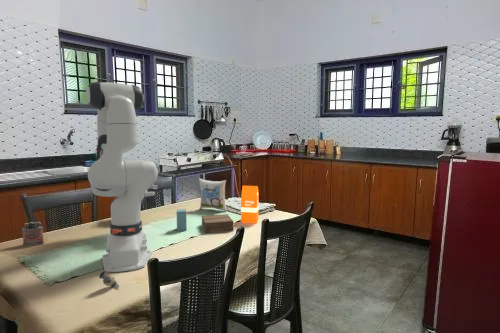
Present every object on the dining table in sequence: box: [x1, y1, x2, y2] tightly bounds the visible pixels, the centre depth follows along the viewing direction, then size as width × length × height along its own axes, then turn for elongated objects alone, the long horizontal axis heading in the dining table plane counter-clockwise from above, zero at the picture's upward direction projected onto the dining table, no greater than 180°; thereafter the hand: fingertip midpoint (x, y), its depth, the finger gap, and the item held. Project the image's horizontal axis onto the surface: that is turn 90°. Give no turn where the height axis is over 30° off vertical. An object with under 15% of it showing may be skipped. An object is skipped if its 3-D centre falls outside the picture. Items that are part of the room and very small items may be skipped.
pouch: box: [198, 177, 228, 212], centre depth 208 cm, size 8×19×20 cm, turn 65°
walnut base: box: [201, 213, 234, 234], centre depth 173 cm, size 14×14×5 cm
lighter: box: [21, 221, 45, 247], centre depth 147 cm, size 8×3×10 cm, turn 105°
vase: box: [98, 271, 120, 289], centre depth 108 cm, size 5×5×6 cm
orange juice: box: [240, 185, 260, 224], centre depth 185 cm, size 8×9×20 cm
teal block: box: [176, 208, 188, 232], centre depth 170 cm, size 4×4×10 cm
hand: (156, 190), depth 165 cm, fingers open, 8 cm apart
